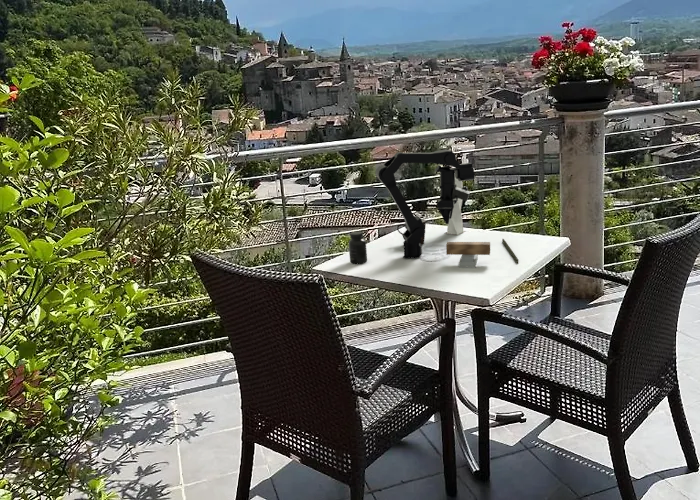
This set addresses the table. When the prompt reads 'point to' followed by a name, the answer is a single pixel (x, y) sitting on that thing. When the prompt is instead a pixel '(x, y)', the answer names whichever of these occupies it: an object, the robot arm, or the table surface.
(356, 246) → the supplement bottle
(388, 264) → the table surface
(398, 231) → the coffee mug
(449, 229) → the skyscraper
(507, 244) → the rod
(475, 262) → the ridge block
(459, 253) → the walnut rod
